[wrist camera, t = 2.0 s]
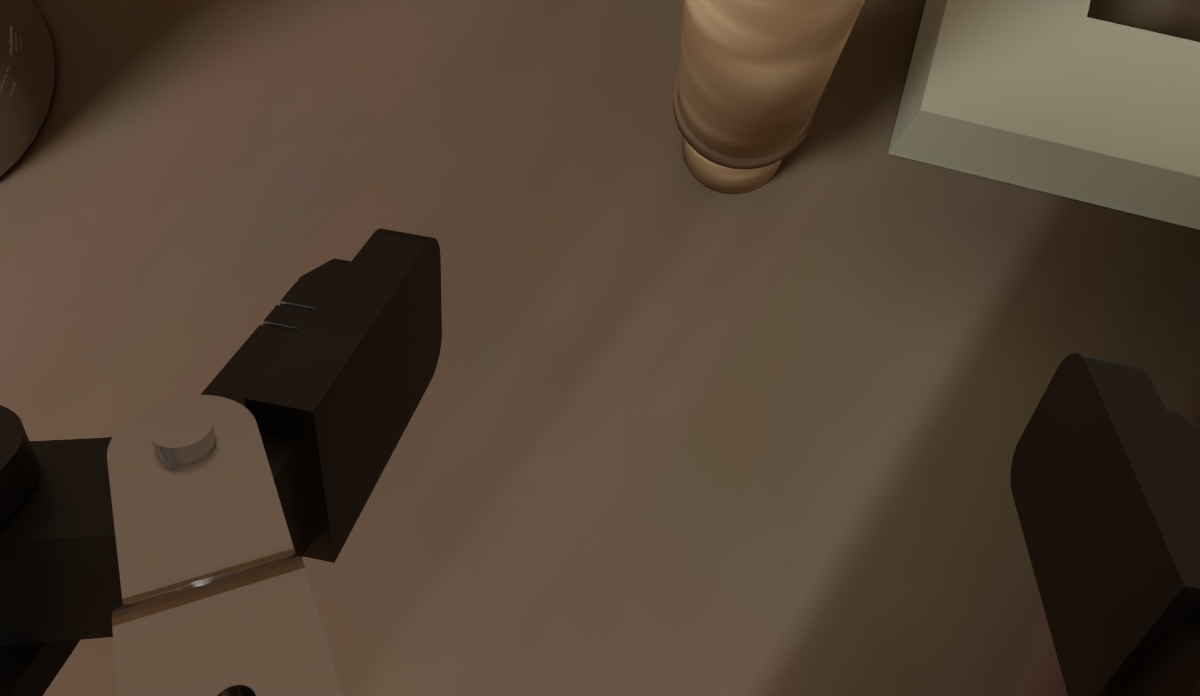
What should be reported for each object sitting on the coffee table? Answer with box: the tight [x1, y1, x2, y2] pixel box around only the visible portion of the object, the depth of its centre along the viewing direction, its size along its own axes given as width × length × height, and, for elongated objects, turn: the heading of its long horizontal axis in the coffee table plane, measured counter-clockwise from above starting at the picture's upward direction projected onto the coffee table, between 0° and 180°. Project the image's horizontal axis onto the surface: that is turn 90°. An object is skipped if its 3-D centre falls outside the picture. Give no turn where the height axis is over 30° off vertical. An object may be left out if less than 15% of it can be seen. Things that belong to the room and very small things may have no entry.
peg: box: [673, 0, 865, 194], centre depth 21 cm, size 4×4×16 cm
